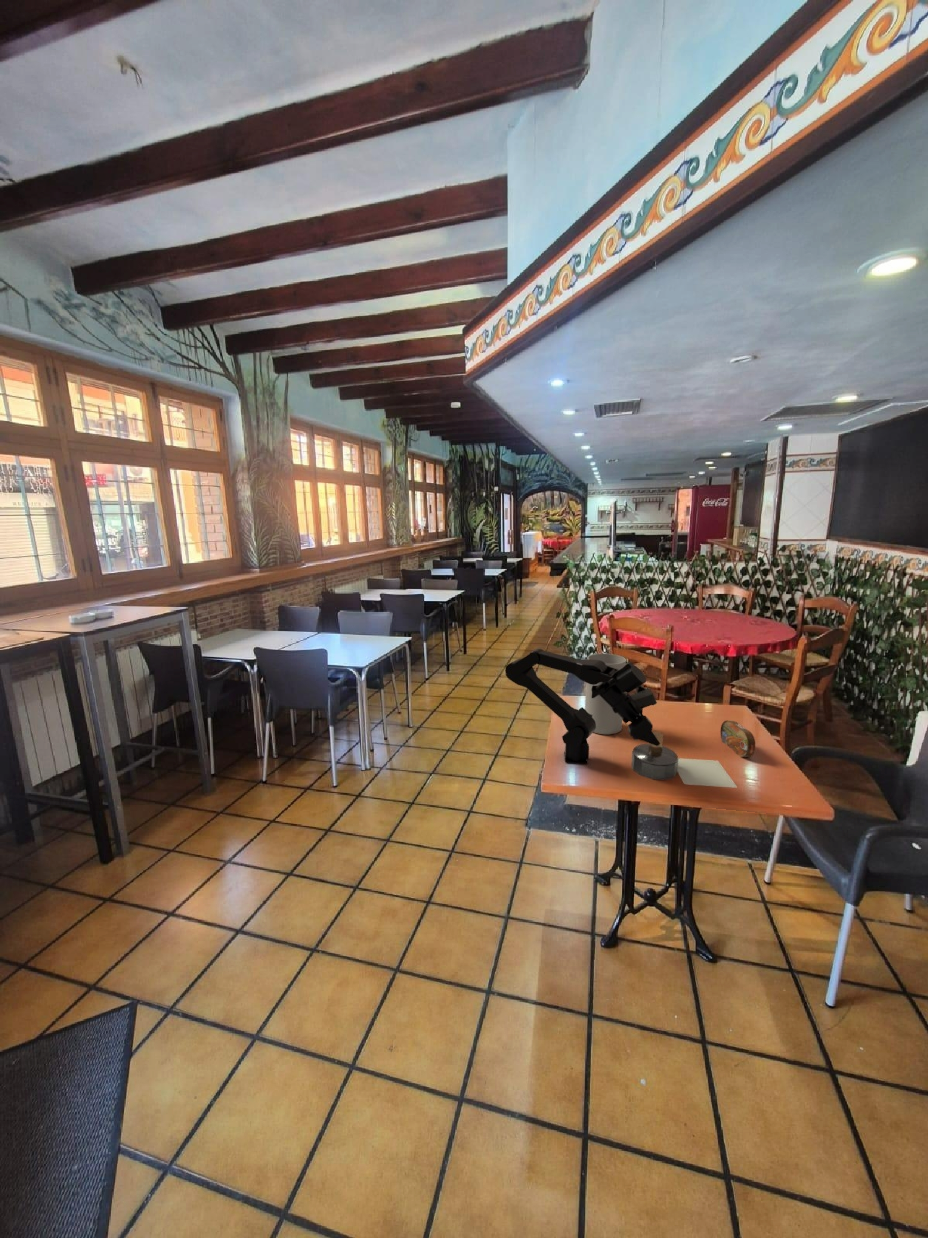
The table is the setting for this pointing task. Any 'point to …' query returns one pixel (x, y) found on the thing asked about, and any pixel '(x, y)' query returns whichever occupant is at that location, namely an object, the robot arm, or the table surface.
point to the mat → (703, 773)
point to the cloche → (655, 760)
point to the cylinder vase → (597, 706)
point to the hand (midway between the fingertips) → (654, 737)
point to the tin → (738, 738)
